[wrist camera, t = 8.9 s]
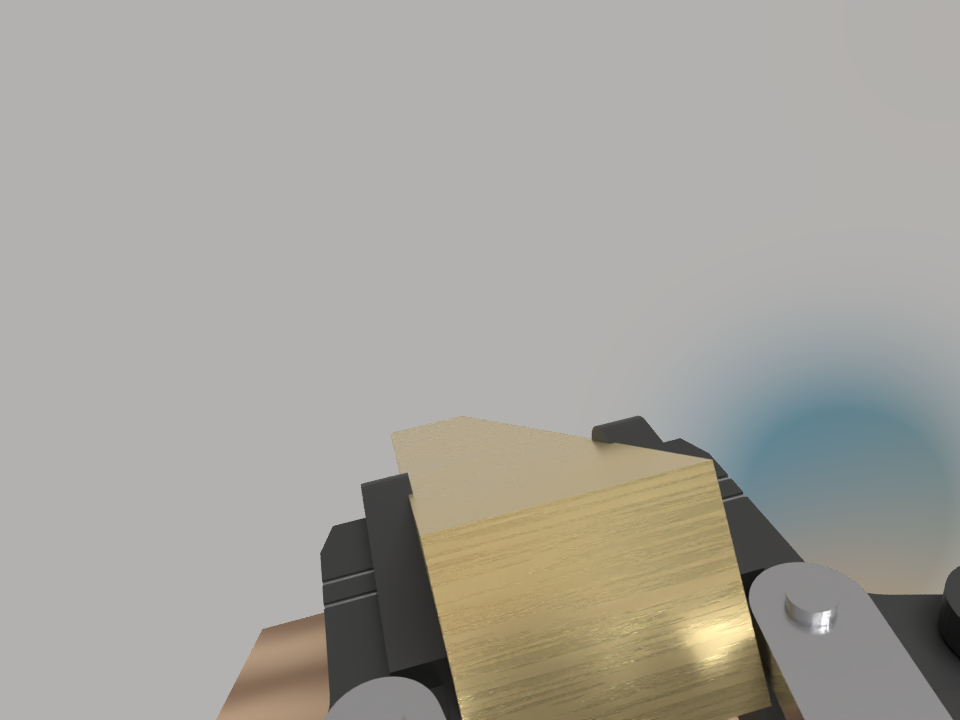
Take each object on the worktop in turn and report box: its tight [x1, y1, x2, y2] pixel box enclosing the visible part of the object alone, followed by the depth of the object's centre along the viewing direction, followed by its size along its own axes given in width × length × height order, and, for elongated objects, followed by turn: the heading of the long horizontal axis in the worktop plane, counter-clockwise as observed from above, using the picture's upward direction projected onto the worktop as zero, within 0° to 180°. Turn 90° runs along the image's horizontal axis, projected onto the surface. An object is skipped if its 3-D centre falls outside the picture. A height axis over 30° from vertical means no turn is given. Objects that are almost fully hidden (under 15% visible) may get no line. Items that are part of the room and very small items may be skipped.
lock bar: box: [391, 416, 772, 720], centre depth 19 cm, size 24×3×2 cm, turn 8°
